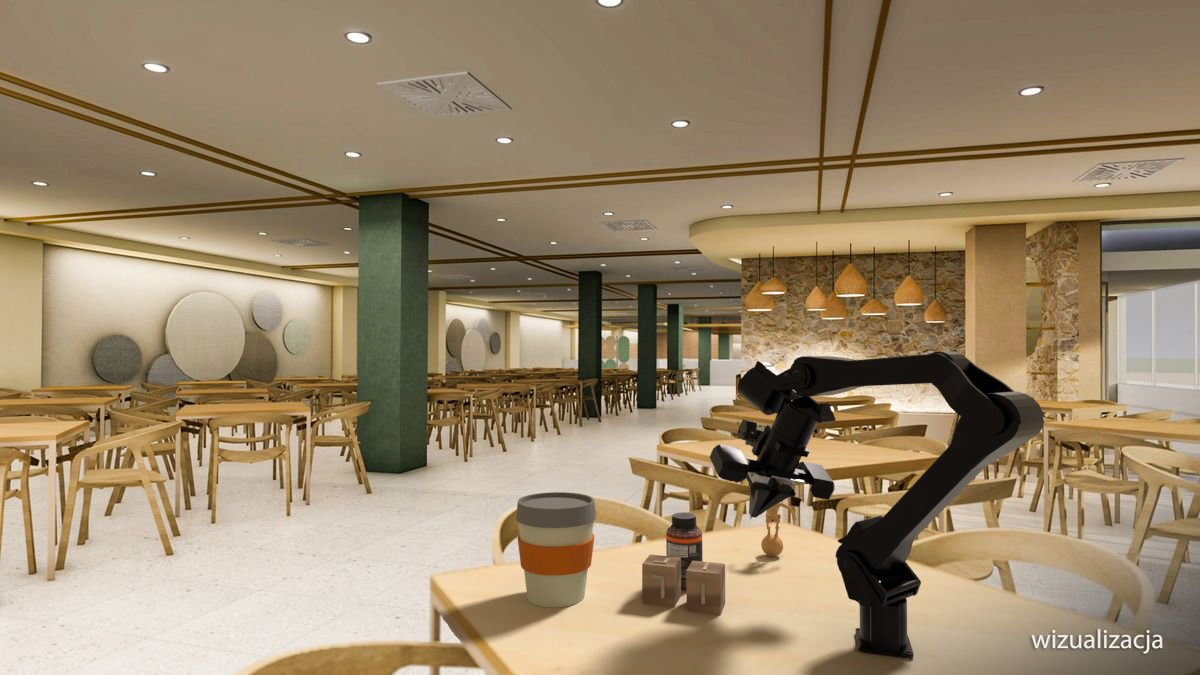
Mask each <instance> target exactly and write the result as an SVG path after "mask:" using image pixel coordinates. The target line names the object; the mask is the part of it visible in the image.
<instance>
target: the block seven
mask: <svg viewBox="0 0 1200 675" xmlns="http://www.w3.org/2000/svg"><path fill="white" fill-rule="evenodd" d="M641 565H642V566H641V568H642V569H641V576H642V578H641V582H642V583H641V585H642V586H641V591H642V592H641V602H642V604H645V605H652V606H662V607H667V608H670V607H671V608H675V607H676V605H677V604H678V602H679V600H680V598H681V597H682V589H681V557H670V556H667V555H659V554H658V555H657V554H649V555H648V557H647V558H646V559H645V560H644V561H643V562H642V564H641Z"/></svg>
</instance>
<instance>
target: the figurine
mask: <svg viewBox="0 0 1200 675" xmlns="http://www.w3.org/2000/svg"><path fill="white" fill-rule="evenodd" d="M780 507H783V508H785V509H788V510H789V512H790V514H791V515H792V518H793V520H794V521H797V518H796V514H795V512H794V511H793V508H792V507H791V506H789V505H788V504H786V503H784V502H783V501H781V502H779V503H777V504H776V505H774V506H772V507H771V508H769V509H768V511H769V513H768V512H767V513H766V514H765V523H766V529H767V535H765V536H763V538H762V540H761V544H760V545H761V550H762V551H763V553H764V554H765V555H767V556H769V557H777V556H779V555H781V553H782V552H783V550H784V543H783V541H782V539H781V537H780V536H779V530H780V525H779V524H780V522H781V518H782V515H781V514H780V513H779V510H780ZM749 517H750V518H749V519H750V520H752V519H753V517H751V516H749ZM772 520H774V523H775V527H774V528H775V532H774V534H773V533H772V534H771V526H770V523H771V522H772Z"/></svg>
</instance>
